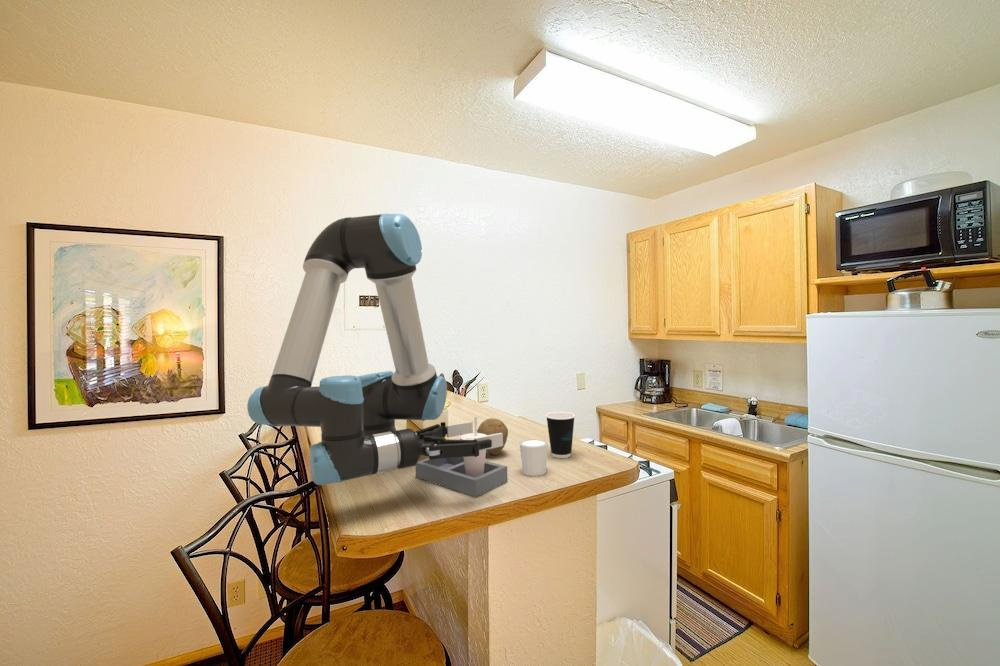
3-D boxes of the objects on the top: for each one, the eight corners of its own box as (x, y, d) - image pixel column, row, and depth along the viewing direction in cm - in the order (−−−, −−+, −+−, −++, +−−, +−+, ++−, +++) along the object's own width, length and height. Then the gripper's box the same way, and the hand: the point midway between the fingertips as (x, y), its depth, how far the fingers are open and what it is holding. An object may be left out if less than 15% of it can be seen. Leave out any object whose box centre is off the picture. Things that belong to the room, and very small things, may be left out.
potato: (474, 460, 108) (473, 422, 108) (476, 450, 117) (475, 415, 117) (509, 459, 109) (507, 421, 108) (508, 449, 117) (507, 414, 117)
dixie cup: (572, 461, 105) (571, 419, 105) (542, 458, 108) (541, 417, 108) (579, 452, 112) (578, 412, 112) (551, 449, 116) (550, 411, 115)
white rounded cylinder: (547, 477, 95) (546, 447, 95) (518, 476, 96) (517, 446, 96) (549, 467, 102) (549, 439, 102) (522, 466, 103) (521, 438, 103)
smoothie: (494, 479, 92) (494, 417, 92) (473, 487, 88) (472, 422, 87) (475, 472, 97) (475, 412, 96) (454, 479, 92) (453, 417, 92)
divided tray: (415, 477, 98) (415, 462, 98) (448, 464, 106) (447, 451, 106) (476, 497, 85) (475, 480, 85) (507, 481, 93) (507, 466, 93)
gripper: (378, 453, 93) (461, 437, 105) (417, 488, 72) (517, 463, 83) (376, 420, 93) (460, 408, 104) (416, 446, 72) (516, 427, 83)
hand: (486, 432), depth 94 cm, fingers open, 13 cm apart
